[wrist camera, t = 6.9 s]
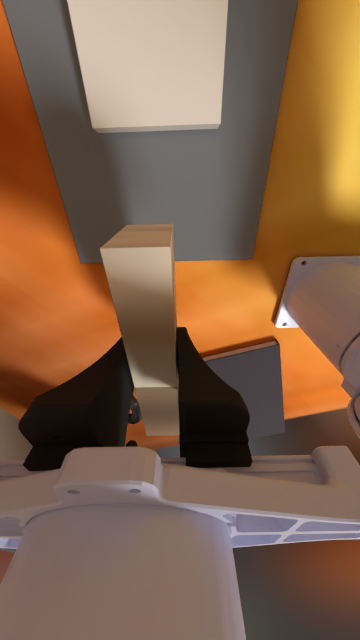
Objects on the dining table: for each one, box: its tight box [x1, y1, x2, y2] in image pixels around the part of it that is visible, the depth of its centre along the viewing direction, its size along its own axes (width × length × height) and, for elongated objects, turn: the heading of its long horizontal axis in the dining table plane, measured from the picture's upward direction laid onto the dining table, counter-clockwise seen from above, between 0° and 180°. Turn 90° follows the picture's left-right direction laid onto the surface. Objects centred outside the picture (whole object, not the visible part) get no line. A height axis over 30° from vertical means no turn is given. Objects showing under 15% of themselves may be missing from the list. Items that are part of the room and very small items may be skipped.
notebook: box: [202, 339, 285, 438], centre depth 31 cm, size 13×2×21 cm
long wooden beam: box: [100, 224, 179, 436], centre depth 13 cm, size 14×2×4 cm, turn 1°
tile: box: [67, 0, 228, 133], centre depth 11 cm, size 2×8×8 cm
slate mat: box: [2, 0, 298, 263], centre depth 14 cm, size 16×18×1 cm
